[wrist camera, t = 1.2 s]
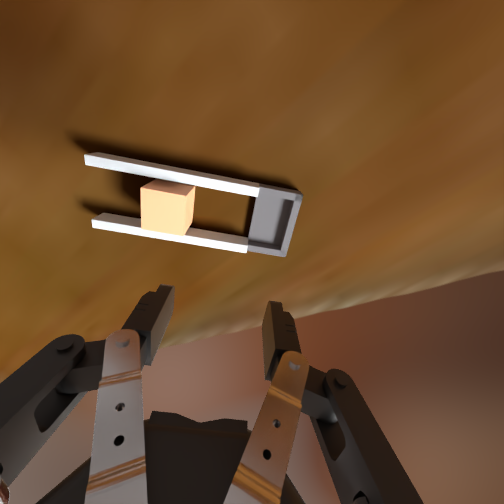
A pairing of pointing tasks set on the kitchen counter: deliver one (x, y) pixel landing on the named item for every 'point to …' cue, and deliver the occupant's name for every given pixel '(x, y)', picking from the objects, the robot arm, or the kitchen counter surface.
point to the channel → (176, 175)
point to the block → (167, 207)
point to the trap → (273, 220)
